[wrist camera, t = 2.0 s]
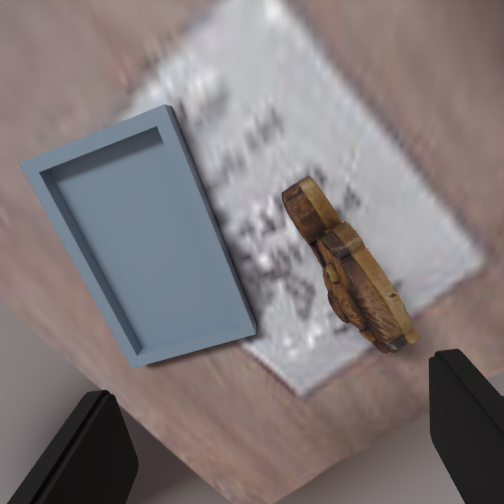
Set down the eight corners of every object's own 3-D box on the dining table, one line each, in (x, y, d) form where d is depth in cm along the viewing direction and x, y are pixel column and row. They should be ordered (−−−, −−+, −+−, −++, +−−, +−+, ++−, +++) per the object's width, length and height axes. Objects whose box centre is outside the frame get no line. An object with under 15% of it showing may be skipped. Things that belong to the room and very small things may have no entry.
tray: (171, 106, 28) (164, 104, 26) (256, 323, 34) (255, 334, 33) (34, 161, 30) (18, 163, 28) (138, 356, 36) (131, 368, 35)
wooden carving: (262, 198, 30) (258, 229, 21) (304, 165, 29) (321, 182, 20) (364, 329, 34) (400, 404, 25) (405, 304, 33) (459, 373, 24)
